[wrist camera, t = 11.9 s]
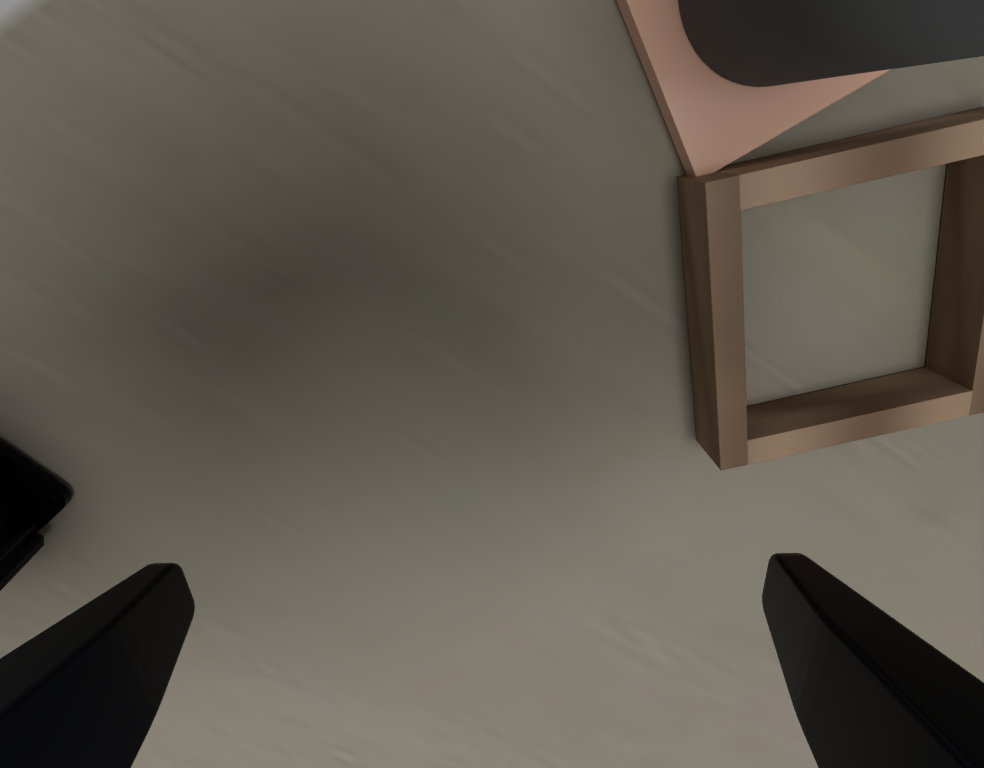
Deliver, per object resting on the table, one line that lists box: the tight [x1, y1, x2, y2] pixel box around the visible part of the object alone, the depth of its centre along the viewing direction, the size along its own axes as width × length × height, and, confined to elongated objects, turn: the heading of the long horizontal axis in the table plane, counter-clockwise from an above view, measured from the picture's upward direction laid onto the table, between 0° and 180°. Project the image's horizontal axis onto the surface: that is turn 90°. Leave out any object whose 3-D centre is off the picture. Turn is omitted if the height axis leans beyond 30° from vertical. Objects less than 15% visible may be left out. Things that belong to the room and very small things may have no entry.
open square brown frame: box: [677, 107, 984, 470], centre depth 20 cm, size 10×10×2 cm
